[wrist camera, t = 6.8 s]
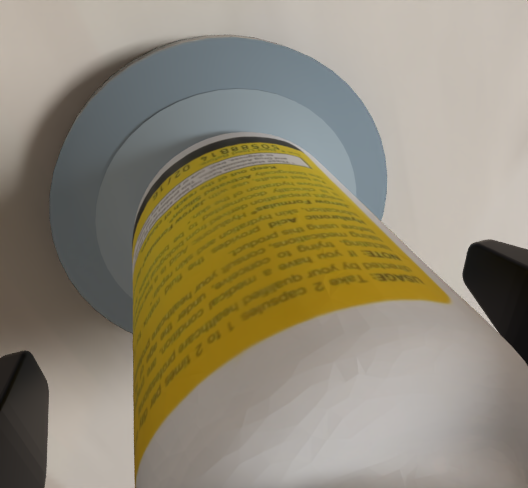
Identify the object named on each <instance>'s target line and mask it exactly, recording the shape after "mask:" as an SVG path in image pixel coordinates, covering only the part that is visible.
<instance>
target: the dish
mask: <svg viewBox="0 0 528 488" xmlns="http://www.w3.org/2000/svg"><path fill="white" fill-rule="evenodd" d="M236 132H256V133H264V134H270V135H274V136H277V137H280V138H283V139H285V140H288V141H290V142H292V143H294V144H296V145H298V146H300V147H301V148H303V149H304V150H305V151H307V152H308V153H310V154H311V155H312V156H313V157H314V158H315V159H316V160H317V161H318V162H320V163H321V164H322V165H323V166H324V167H325V168H326V169H327V170H328V171H329V172H330V173H331V174H332V175H333V176H334V177H335V178H336V179H337V180H338V181H339V182H340V183H341V184H343V185H344V186H345V187H346V188H347V189H348V190H349V191H350V192H351V193H352V194H353V195H354V196H355V197H356V198H357V199H358V200H359V201H360V202H361V203H362V204H363V205H364V206H366V207H367V208H368V209H369V210H370V211H371V212H372V213H373V214H374V215H375V216H376V217H377V218H378V219H379V220H380V221H381V219H382V216H383V212H384V206H385V200H386V194H387V170H386V160H385V154H384V150H383V146H382V142H381V138H380V135H379V133H378V130H377V128H376V126H375V123H374V121H373V119H372V117H371V115H370V114H369V112H368V110H367V109H366V107H365V105H364V104H363V102H362V101H361V99H360V98H359V97H358V96H357V95H356V93H355V92H354V91H353V90H352V89H351V87H350V86H349V85H348V84H347V83H346V82H344V81H343V80H342V79H341V78H340V77H339V76H338V75H336V74H335V73H334V72H333V71H332V70H330V69H329V68H327V67H326V66H324V65H323V64H321V63H319V62H318V61H316V60H315V59H313V58H311V57H309V56H307V55H304V54H302V53H300V52H297V51H295V50H293V49H290V48H288V47H285V46H282V45H280V44H277V43H273V42H269V41H266V40H262V39H258V38H254V37H246V36H237V35H209V36H200V37H195V38H190V39H184V40H179V41H176V42H173V43H170V44H168V45H165V46H162V47H159V48H156V49H154V50H152V51H150V52H148V53H146V54H144V55H142V56H140V57H138V58H137V59H135V60H133V61H131V62H130V63H128V64H127V65H126V66H124V67H123V68H121V69H120V70H119V71H117V72H116V73H115V74H113V75H112V76H111V77H110V78H109V79H108V80H107V81H106V82H105V83H104V84H103V85H102V86H101V87H100V88H99V89H98V90H97V91H96V92H95V93H94V94H93V95H92V96H91V97H90V99H89V100H88V101H87V103H86V104H85V105H84V107H83V108H82V110H81V111H80V112H79V114H78V115H77V117H76V119H75V121H74V123H73V125H72V127H71V129H70V131H69V133H68V134H67V137H66V139H65V141H64V144H63V146H62V148H61V151H60V154H59V157H58V160H57V163H56V166H55V169H54V172H53V178H52V184H51V190H50V224H51V230H52V237H53V242H54V245H55V248H56V251H57V254H58V257H59V260H60V262H61V264H62V266H63V268H64V270H65V272H66V273H67V275H68V277H69V279H70V281H71V282H72V283H73V285H74V286H75V287H76V289H77V290H78V292H79V293H80V294H81V296H82V297H83V298H84V299H85V300H86V301H87V302H88V303H89V304H90V305H91V306H92V307H93V308H94V309H95V310H96V311H98V312H99V313H100V314H102V315H103V316H104V317H105V318H107V319H108V320H109V321H111V322H112V323H114V324H116V325H117V326H119V327H121V328H123V329H124V330H126V331H128V332H130V333H133V275H132V238H133V230H134V223H135V218H136V214H137V210H138V207H139V204H140V202H141V199H142V197H143V195H144V193H145V191H146V189H147V188H148V186H149V184H150V183H151V181H152V180H153V178H154V177H155V176H156V175H157V173H158V172H159V171H160V170H161V169H162V168H163V167H164V166H165V165H166V164H167V163H168V162H169V161H170V160H171V159H172V158H174V157H175V156H176V155H178V154H179V153H181V152H182V151H184V150H185V149H187V148H189V147H190V146H192V145H194V144H196V143H198V142H201V141H203V140H205V139H208V138H211V137H215V136H218V135H222V134H227V133H236Z"/></svg>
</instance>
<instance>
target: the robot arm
mask: <svg viewBox="0 0 528 488" xmlns="http://www.w3.org/2000/svg"><path fill="white" fill-rule="evenodd" d="M463 280H464V283H465V285H466V286H467V288H468V289H469V291H470V292H471V293H472V295H473V296H474V298H475V299H476V301H477V302H478V304H479V305H480V306H481V308H482V309H483V311H484V312H485V314H486V315H487V317H488V318H489V319H490V321H491V322H492V324H493V325H494V327H495V328H496V330H497V331H498V332H499V334H500V335H501V336H502V337H503V338H504V339H505V340H506V341H507V342H508V343H509V344H510V345H511V346H512V347H513V348H514V349H515V351H516V352H517V353H518V354H519V355H520V356H521V358H522V359H523V360H524V361H525V362H526V364H527V366H528V250H527V249H524V248H520V247H517V246H513V245H509V244H506V243H502V242H498V241H495V240H483V241H479V242H475V243H473V244H471V245H470V247H469V248H468V252H467V256H466V260H465V265H464V269H463ZM48 404H49V389H48V383H47V380H46V378H45V377H44V375H43V373H42V371H41V369H40V367H39V366H38V364H37V362H36V360H35V358H34V357H33V355H32V354H31V353H30V352H29V351H20V352H16V353H12V354H8V355H5V356H3V357H1V358H0V488H44V487H45V479H46V466H47V438H48Z"/></svg>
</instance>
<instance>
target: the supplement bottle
mask: <svg viewBox="0 0 528 488" xmlns="http://www.w3.org/2000/svg"><path fill="white" fill-rule="evenodd" d="M132 275H133V399H134V465H135V488H528V366H527V364H526V362H525V361H524V360H523V359H522V358H521V356H520V355H519V354H518V353H517V352H516V351H515V349H514V348H513V347H512V346H511V345H510V344H509V343H508V342H507V341H506V340H505V339H504V338H503V337H502V336H501V335H500V334H499V333H498V332H497V331H496V330H495V329H494V328H493V327H492V326H491V325H490V324H489V323H488V322H487V321H486V320H485V319H484V318H483V317H482V316H481V315H480V314H478V313H477V312H476V311H475V310H474V309H473V308H472V307H471V306H470V305H469V304H468V303H467V302H466V301H465V300H463V299H462V298H461V297H460V296H459V295H458V294H457V293H456V292H455V291H454V290H453V289H452V288H451V287H449V286H448V285H447V284H446V283H445V282H444V281H443V280H442V279H441V278H440V277H439V276H438V275H437V274H436V273H434V272H433V271H432V270H431V269H430V268H429V267H428V266H427V265H426V264H425V263H424V262H423V261H422V260H420V259H419V258H418V257H417V256H416V255H415V254H414V253H413V252H412V251H411V250H410V249H409V248H408V247H407V246H406V245H405V244H404V243H403V242H402V241H401V240H400V239H399V238H398V237H397V236H396V235H395V234H394V233H393V232H392V231H391V230H390V229H388V228H387V227H386V226H385V225H384V224H383V223H382V222H381V221H380V220H379V219H378V218H377V217H376V216H375V215H374V214H373V213H372V212H371V211H370V210H369V209H368V208H367V207H366V206H364V205H363V204H362V203H361V202H360V201H359V200H358V199H357V198H356V197H355V196H354V195H353V194H352V193H351V192H350V191H349V190H348V189H347V188H346V187H345V186H344V185H343V184H341V183H340V182H339V181H338V180H337V179H336V178H335V177H334V176H333V175H332V174H331V173H330V172H329V171H328V170H327V169H326V168H325V167H324V166H323V165H322V164H321V163H320V162H318V161H317V160H316V159H315V158H314V157H313V156H312V155H311V154H310V153H308V152H307V151H305V150H304V149H303V148H301V147H300V146H298V145H296V144H294V143H292V142H290V141H288V140H285V139H283V138H280V137H277V136H274V135H270V134H264V133H256V132H236V133H227V134H222V135H218V136H215V137H211V138H208V139H205V140H203V141H201V142H198V143H196V144H194V145H192V146H190V147H189V148H187V149H185V150H184V151H182V152H181V153H179V154H178V155H176V156H175V157H174V158H172V159H171V160H170V161H169V162H168V163H167V164H166V165H165V166H164V167H163V168H162V169H161V170H160V171H159V172H158V173H157V175H156V176H155V177H154V178H153V180H152V181H151V183H150V184H149V186H148V188H147V189H146V191H145V193H144V195H143V197H142V199H141V202H140V204H139V207H138V210H137V214H136V218H135V223H134V230H133V238H132Z"/></svg>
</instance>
